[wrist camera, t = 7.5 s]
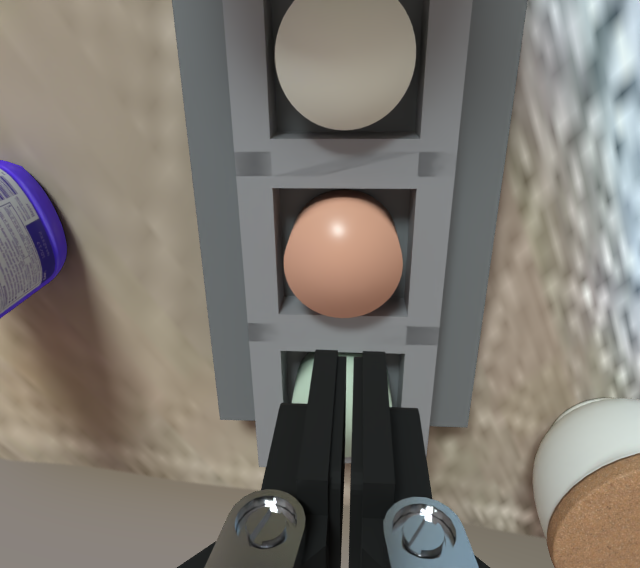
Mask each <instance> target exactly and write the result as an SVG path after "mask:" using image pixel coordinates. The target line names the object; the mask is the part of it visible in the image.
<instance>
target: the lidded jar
mask: <svg viewBox="0 0 640 568" xmlns="http://www.w3.org/2000/svg"><path fill="white" fill-rule="evenodd" d="M533 493H534V500H535V504H536V508H537V513H538V517H539V521H540V524H541V527H542V530H543V533H544V536H545V538H546V541H547V545H548V549H549V553H550V557H551V560H552V562H553V565H554V567H555V568H640V399H633V398H597V399H592V400H587V401H584V402H582V403H579V404H577V405H575V406H573V407H571V408H570V409H568V410H566V411H565V412H564V413H563V414H562V415H560V416H559V417H558V419H557V420H556V421H555V422H554V424H553V425H552V427H551V429H550V430H549V431H548V432H547V433H546V435H545V437H544V438H543V440H542V441H541V444H540V446H539V449H538V451H537V454H536V456H535V461H534V466H533Z"/></svg>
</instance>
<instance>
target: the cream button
mask: <svg viewBox="0 0 640 568" xmlns="http://www.w3.org/2000/svg"><path fill="white" fill-rule="evenodd" d="M415 61H416V42H415V35H414V31H413V27H412V24H411V21H410V19H409V16H408V15H407V13H406V11H405V9H404V7H403V6H402V5H401V3H400V2H399V1H398V0H294V2H293V3H292V4H291V6H290V7H289V8H288V10H287V12H286V14H285V15H284V17H283V19H282V22H281V24H280V27H279V30H278V34H277V38H276V44H275V65H276V71H277V75H278V79H279V82H280V85H281V87H282V89H283V91H284V93H285V95H286V97H287V98H288V100H289V101H290V103H291V104H292V105H293V106H294V107H295V109H296V110H297V111H298V112H299V113H301V114H302V115H303V116H304V117H305V118H307V119H308V120H310V121H311V122H313V123H315V124H317V125H320V126H323V127H325V128H329V129H334V130H354V129H359V128H363V127H366V126H369V125H371V124H373V123H375V122H377V121H379V120H380V119H382V118H383V117H385V116H386V115H387V114H388V113H389V112H390V111H392V110H393V109H394V107H395V106H396V105H397V104H398V103H399V102H400V100H401V99H402V97H403V96H404V94H405V92H406V90H407V89H408V87H409V84H410V82H411V79H412V76H413V72H414V68H415Z"/></svg>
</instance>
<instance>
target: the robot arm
mask: <svg viewBox="0 0 640 568" xmlns="http://www.w3.org/2000/svg"><path fill="white" fill-rule="evenodd" d="M346 362H347V357H346V356H338V350H318V349H316V350H315V355H314V362H313V369H312V376H311V383H310V389H309V396H308V403H307V404H302V403H281V404H280V407H279V411H278V416H277V420H276V425H275V429H274V434H273V438H272V443H271V447H270V452H269V456H268V461H267V466H266V470H265V475H264V479H263V484H262V488H261V490H260V491H255V492H253V493H251V494H249V495H247V496H245V497H243V498H242V499H241V500H240V501H239V502H237V503H236V504H235V506H234V507H233V508H232V510H231V511H230V513H229V515H228V517H227V519H226V521H225V523H224V526H223V528H222V530H221V532H220V535H219V537H218V539H217V541H216V542H214V543H213V544H211V545H210V546H208V547H207V548H205V549H204V550H202V551H201V552H199V553H198V554H197V555H195V556H193V557H192V558H190V559H189V560H187V561H186V562H184V563H183V564H182V565H180V566H179V567H177V568H341V567H340V566H341V543H342V519H343V494H344V469H345V433H346ZM349 539H350V540H349V568H490V567H488V566H487V565H486V564H485V563H484V562H482V561H481V560H480V559H479V558H477V557H476V556H475V555H474V553H473V551H472V548H471V545H470V543H469V540H468V537H467V535H466V532H465V529H464V527H463V525H462V523H461V522H460V520H459V518H458V516H457V515H456V514H455V513H454V512H453V511H452V510H451V509H450V508H449V507H447V506H445V505H444V504H442V503H440V502H439V501H436V500H433V499H432V494H431V487H430V480H429V474H428V467H427V461H426V454H425V447H424V441H423V434H422V428H421V421H420V414H419V410H418V408H404V407H389V394H388V380H387V367H386V354H385V352H381V351H363V355H362V357H354V367H353V407H352V447H351V488H350V536H349Z"/></svg>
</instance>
